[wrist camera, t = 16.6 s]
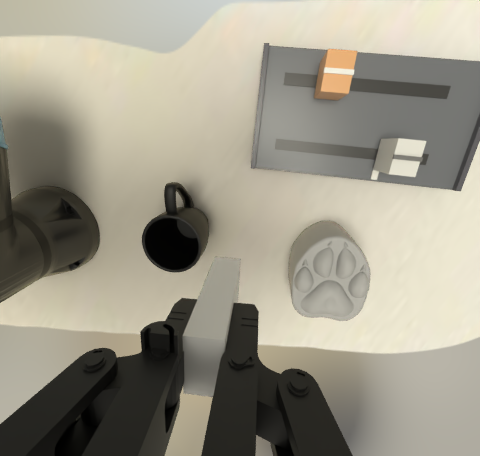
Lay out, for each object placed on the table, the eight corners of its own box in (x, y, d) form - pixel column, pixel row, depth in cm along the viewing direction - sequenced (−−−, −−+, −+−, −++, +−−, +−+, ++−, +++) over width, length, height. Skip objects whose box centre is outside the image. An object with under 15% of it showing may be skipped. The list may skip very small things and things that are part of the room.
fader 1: (313, 98, 33) (320, 90, 29) (319, 62, 32) (328, 48, 27) (338, 100, 33) (349, 93, 28) (345, 64, 32) (358, 50, 27)
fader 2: (372, 169, 35) (389, 174, 30) (380, 138, 34) (399, 138, 29) (396, 172, 35) (416, 177, 30) (405, 141, 34) (428, 140, 29)
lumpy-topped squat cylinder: (285, 290, 45) (288, 322, 37) (293, 218, 41) (299, 237, 33) (347, 296, 44) (364, 330, 36) (362, 223, 40) (385, 243, 32)
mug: (217, 177, 41) (202, 187, 32) (215, 248, 44) (201, 275, 35) (166, 174, 41) (137, 183, 32) (168, 244, 45) (143, 269, 36)
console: (252, 166, 39) (250, 167, 37) (264, 50, 35) (264, 43, 32) (447, 187, 37) (460, 191, 35) (489, 67, 32) (509, 61, 30)
